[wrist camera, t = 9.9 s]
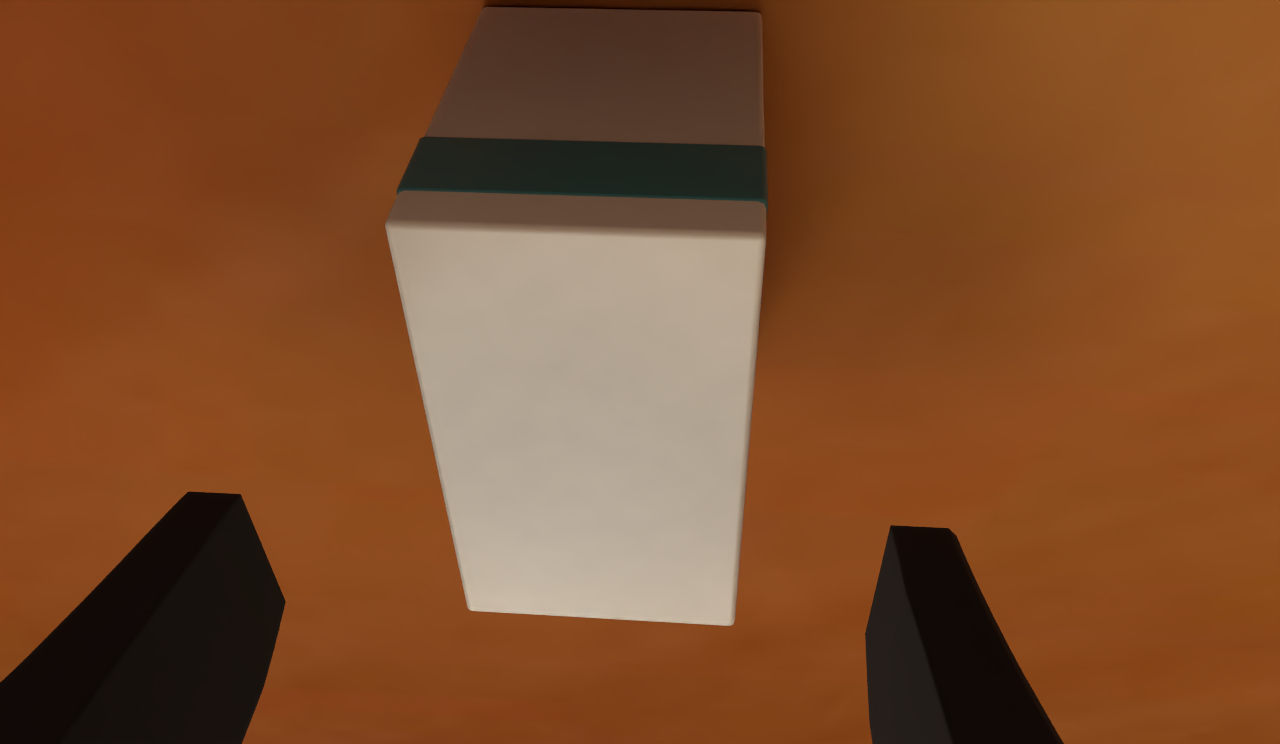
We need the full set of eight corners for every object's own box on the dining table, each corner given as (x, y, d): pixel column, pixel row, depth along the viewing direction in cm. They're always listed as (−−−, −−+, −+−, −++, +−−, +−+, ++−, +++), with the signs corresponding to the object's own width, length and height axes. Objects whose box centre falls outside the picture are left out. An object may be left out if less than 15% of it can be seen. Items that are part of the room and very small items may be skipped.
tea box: (524, 367, 20) (465, 613, 16) (479, 3, 15) (379, 221, 11) (738, 376, 19) (735, 629, 15) (763, 8, 15) (769, 234, 11)
